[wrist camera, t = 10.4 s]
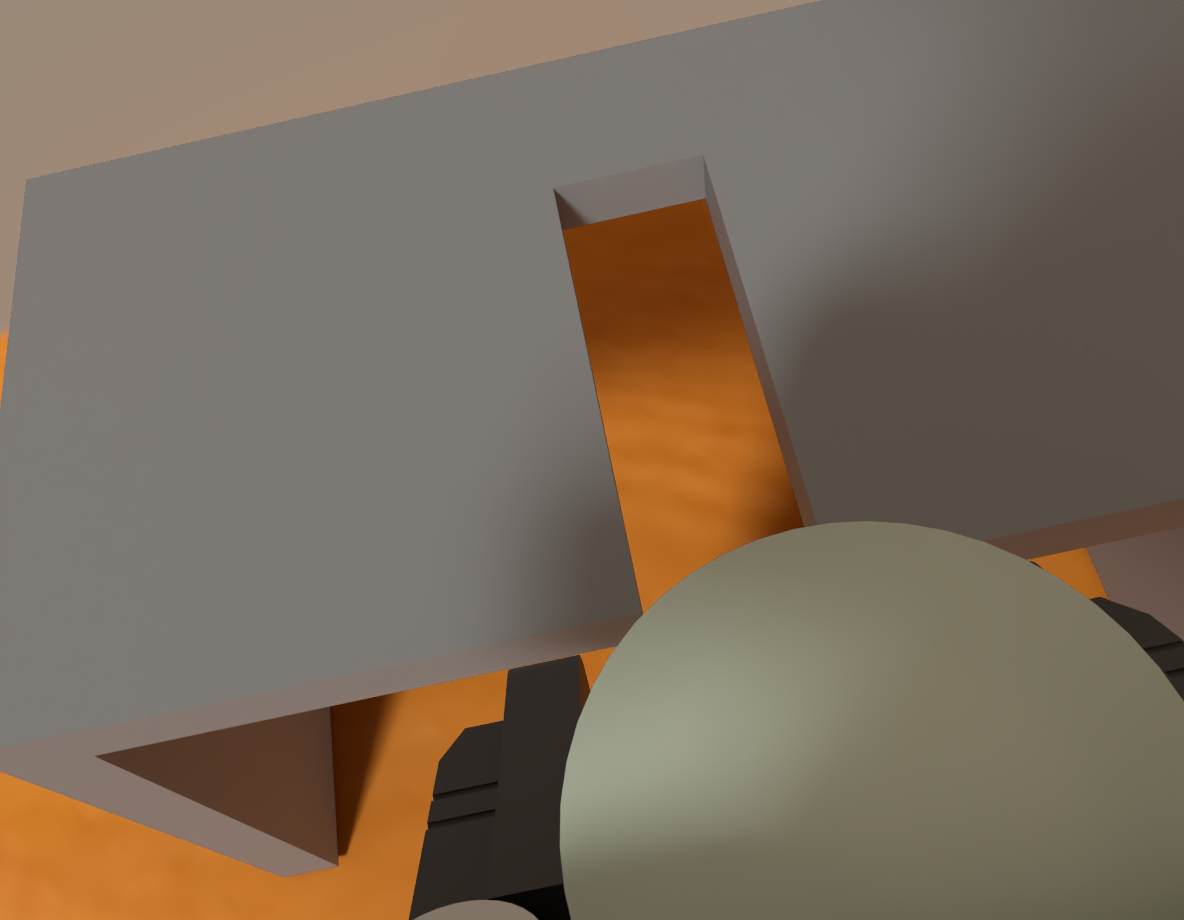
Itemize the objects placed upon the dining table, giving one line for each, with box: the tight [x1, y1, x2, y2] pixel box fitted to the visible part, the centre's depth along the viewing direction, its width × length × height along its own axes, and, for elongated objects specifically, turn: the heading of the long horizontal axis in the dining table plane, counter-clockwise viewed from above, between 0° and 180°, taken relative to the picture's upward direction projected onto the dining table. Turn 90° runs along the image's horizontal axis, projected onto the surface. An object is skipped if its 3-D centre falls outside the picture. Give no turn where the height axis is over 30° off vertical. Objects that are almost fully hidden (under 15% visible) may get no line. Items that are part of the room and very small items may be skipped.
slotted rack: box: [0, 0, 1184, 877], centre depth 21 cm, size 20×10×11 cm, turn 100°
